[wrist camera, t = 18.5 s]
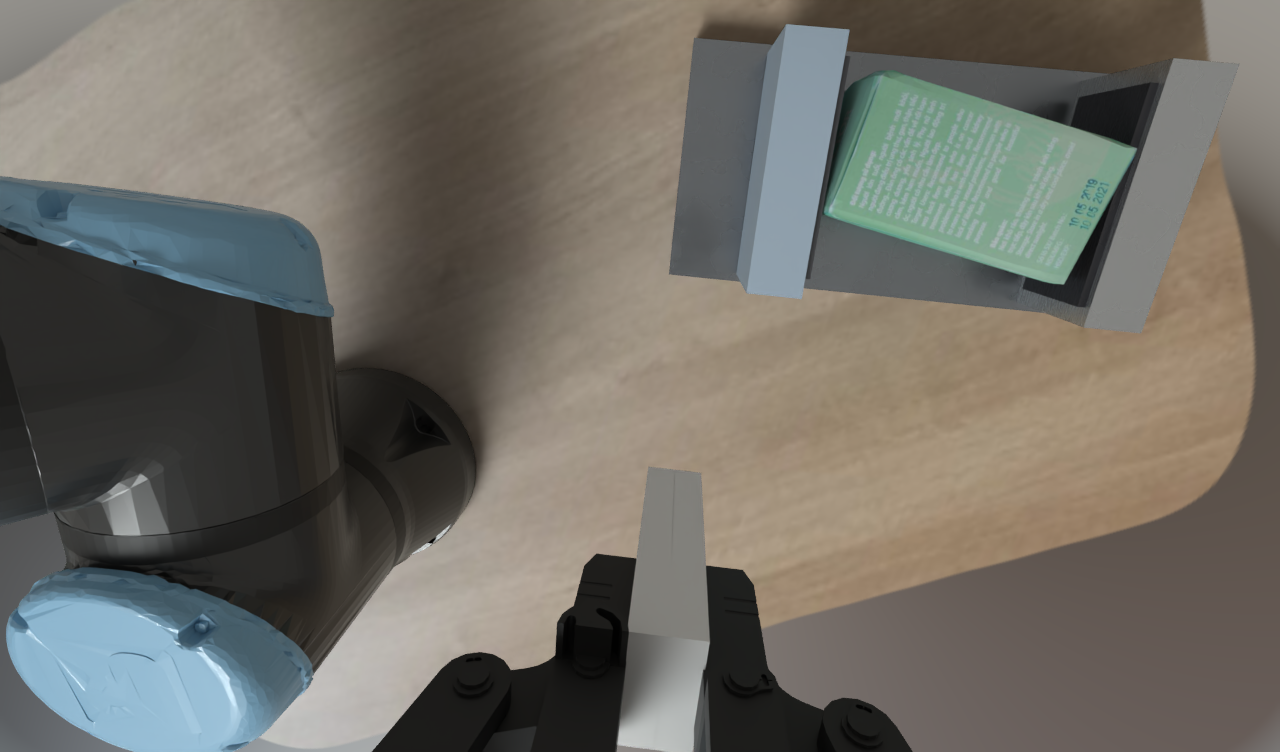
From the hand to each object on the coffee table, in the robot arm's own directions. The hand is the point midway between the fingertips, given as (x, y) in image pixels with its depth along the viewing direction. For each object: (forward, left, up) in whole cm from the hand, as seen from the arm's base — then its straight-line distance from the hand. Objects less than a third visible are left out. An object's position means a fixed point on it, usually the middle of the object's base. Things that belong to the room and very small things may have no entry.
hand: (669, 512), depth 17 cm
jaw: (+5, +10, -25) cm, 27 cm away
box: (+14, +10, -25) cm, 30 cm away
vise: (+12, +10, -26) cm, 31 cm away
